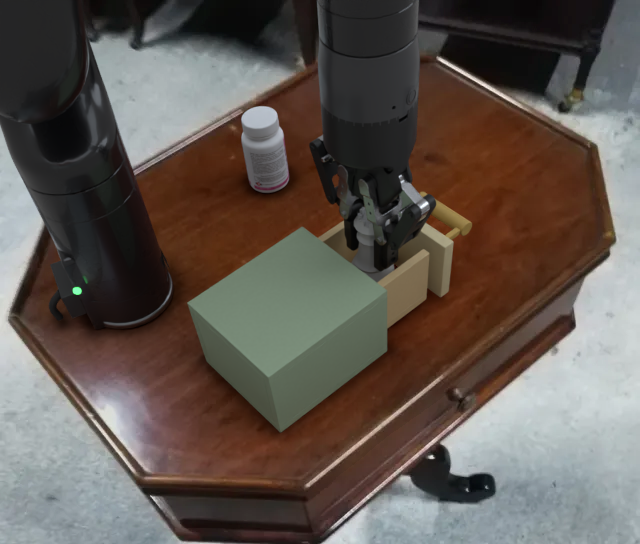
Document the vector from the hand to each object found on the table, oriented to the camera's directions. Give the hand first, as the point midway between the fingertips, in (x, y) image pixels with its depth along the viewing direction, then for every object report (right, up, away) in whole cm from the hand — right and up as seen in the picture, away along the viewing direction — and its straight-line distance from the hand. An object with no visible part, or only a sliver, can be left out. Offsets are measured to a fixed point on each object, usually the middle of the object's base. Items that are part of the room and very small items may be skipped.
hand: (371, 254), depth 71 cm
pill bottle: (-11, +12, +17) cm, 24 cm away
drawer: (+2, -2, +5) cm, 6 cm away
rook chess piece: (0, -2, +3) cm, 3 cm away
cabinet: (-7, -9, +2) cm, 12 cm away
